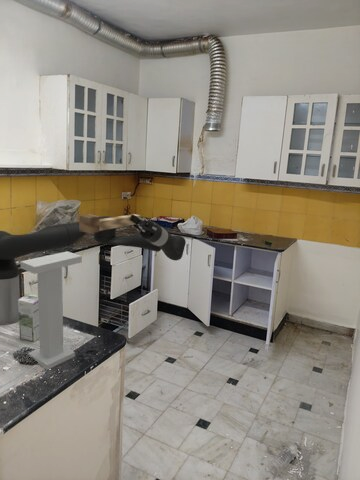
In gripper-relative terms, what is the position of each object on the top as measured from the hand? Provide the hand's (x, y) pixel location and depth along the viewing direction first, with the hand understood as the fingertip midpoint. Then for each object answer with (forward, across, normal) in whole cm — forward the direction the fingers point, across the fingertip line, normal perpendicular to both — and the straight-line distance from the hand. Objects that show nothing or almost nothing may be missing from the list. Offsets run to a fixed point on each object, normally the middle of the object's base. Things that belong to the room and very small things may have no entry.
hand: (127, 216), depth 135 cm
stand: (+7, 0, -52) cm, 52 cm away
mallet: (+5, 0, -6) cm, 8 cm away
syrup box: (+5, +16, -51) cm, 53 cm away
